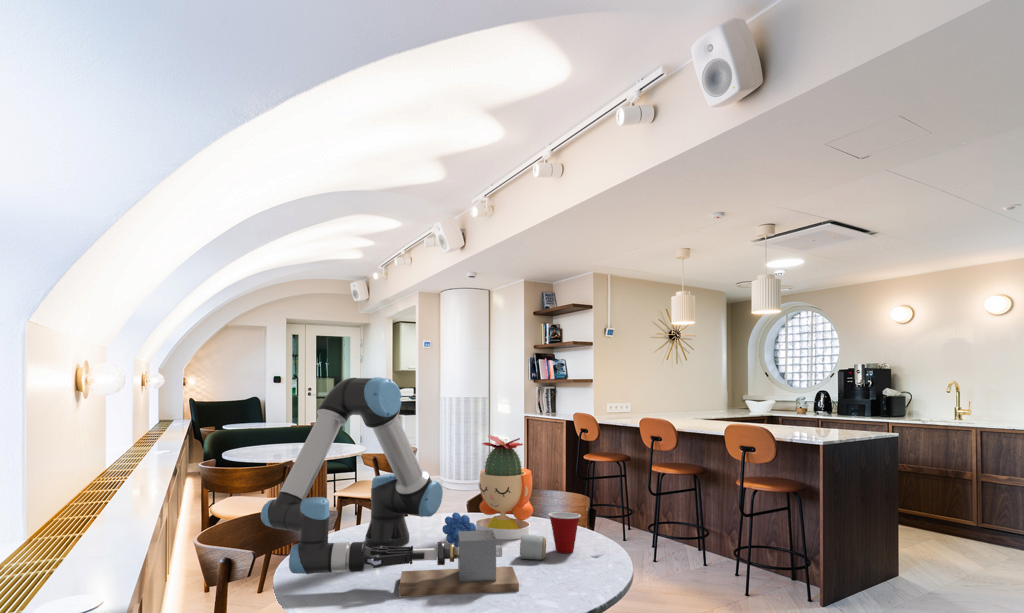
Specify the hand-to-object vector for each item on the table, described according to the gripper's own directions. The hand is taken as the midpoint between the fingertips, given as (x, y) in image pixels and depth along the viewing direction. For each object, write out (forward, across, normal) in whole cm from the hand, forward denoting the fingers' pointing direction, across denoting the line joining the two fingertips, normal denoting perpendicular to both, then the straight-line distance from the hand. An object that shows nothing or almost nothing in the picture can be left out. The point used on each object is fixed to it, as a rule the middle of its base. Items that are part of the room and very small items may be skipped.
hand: (436, 554), depth 162 cm
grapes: (+7, -32, -8) cm, 34 cm away
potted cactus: (+26, -54, -8) cm, 61 cm away
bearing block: (+11, 0, -6) cm, 13 cm away
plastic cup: (+42, -27, -8) cm, 51 cm away
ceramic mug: (+31, -22, -9) cm, 39 cm away
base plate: (+7, 0, -8) cm, 11 cm away
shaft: (+9, 0, -3) cm, 10 cm away
